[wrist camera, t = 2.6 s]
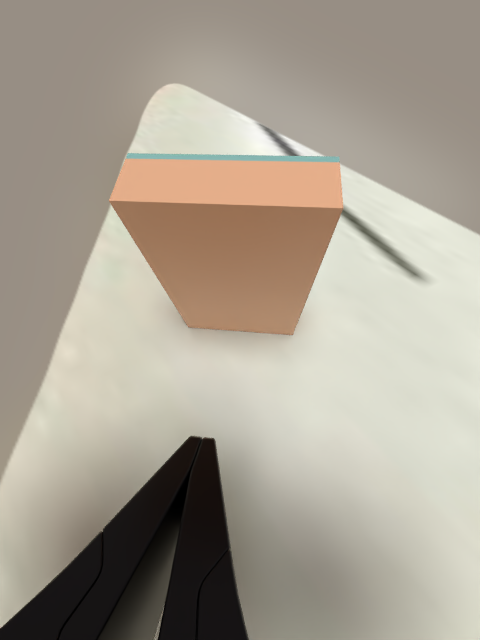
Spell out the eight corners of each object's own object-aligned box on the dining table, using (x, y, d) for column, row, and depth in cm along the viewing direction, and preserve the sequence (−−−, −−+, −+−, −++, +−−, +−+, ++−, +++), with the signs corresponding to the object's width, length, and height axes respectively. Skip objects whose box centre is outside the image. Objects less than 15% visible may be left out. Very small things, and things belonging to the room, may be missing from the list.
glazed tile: (292, 334, 19) (343, 208, 8) (188, 327, 20) (108, 200, 9) (293, 305, 20) (339, 156, 9) (193, 299, 21) (128, 153, 10)
